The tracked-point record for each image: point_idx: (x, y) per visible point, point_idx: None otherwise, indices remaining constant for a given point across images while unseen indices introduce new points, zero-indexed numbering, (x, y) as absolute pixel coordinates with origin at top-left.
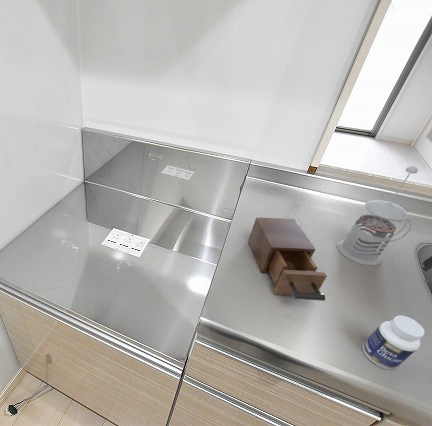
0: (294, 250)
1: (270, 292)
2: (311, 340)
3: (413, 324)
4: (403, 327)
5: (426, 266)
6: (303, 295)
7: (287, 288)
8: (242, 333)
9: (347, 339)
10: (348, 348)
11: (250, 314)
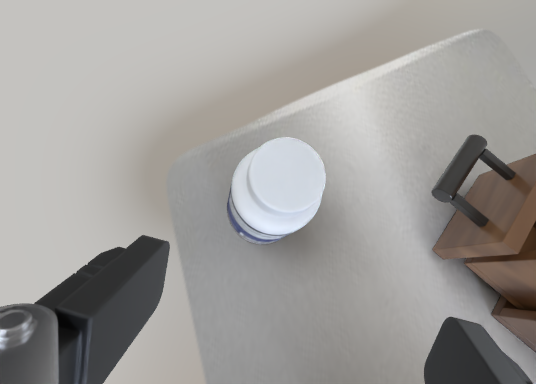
0: None
1: None
2: (360, 132)
3: (281, 190)
4: (296, 150)
5: (481, 331)
6: (471, 146)
7: (490, 183)
8: (437, 45)
9: None
10: None
11: (460, 95)
